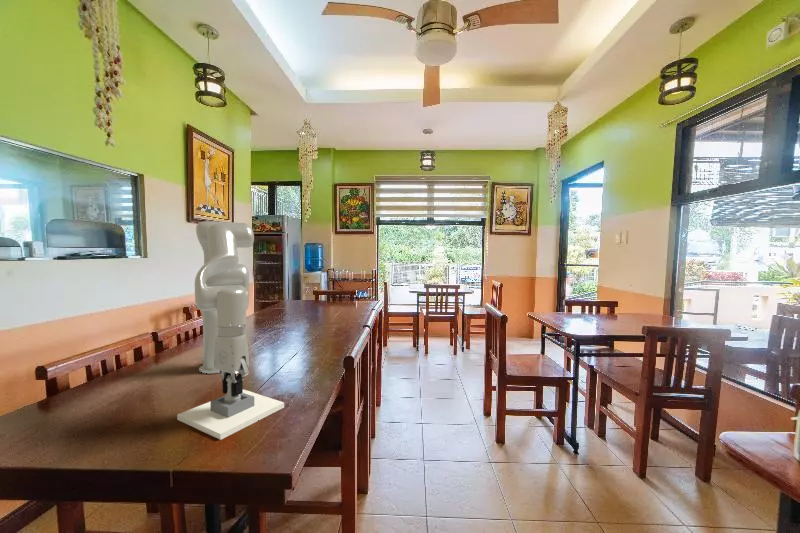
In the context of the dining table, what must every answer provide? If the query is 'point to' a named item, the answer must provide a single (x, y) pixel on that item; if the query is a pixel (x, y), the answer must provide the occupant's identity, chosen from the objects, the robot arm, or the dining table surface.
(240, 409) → the socket board
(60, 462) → the dining table surface
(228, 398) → the rook chess piece
